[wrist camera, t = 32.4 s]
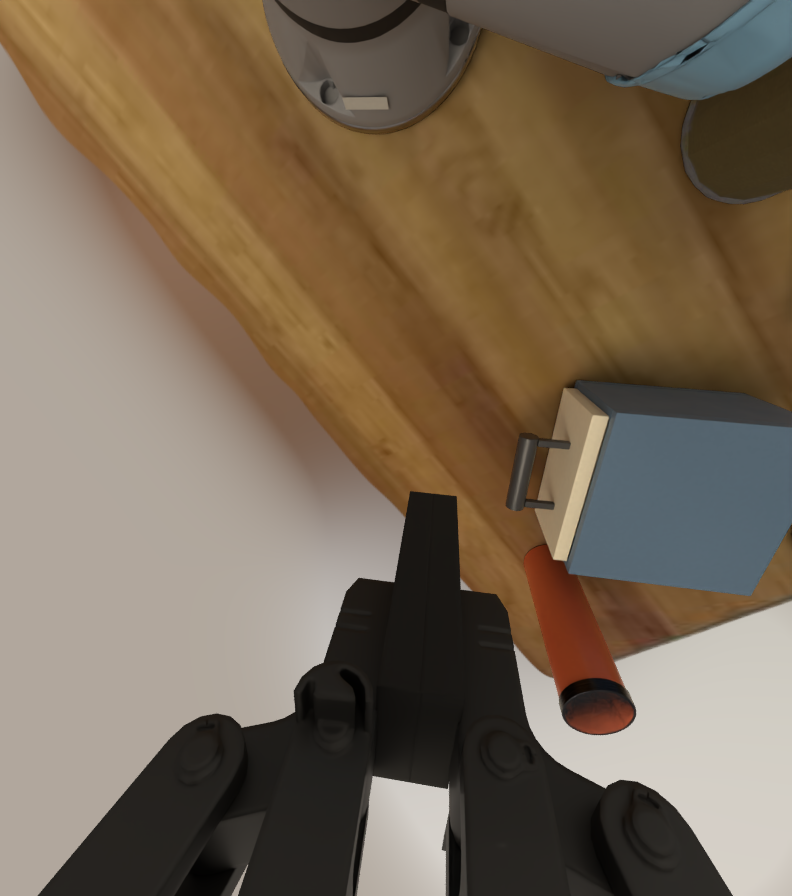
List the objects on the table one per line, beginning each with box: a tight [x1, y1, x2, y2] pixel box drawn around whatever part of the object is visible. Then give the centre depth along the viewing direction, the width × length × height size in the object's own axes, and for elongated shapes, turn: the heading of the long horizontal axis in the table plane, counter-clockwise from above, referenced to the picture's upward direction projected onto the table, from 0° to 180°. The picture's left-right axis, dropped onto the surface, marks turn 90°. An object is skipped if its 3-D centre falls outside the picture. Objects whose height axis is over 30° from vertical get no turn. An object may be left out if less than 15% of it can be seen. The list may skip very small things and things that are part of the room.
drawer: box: [506, 388, 610, 561], centre depth 34 cm, size 18×13×8 cm
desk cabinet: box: [564, 380, 792, 596], centre depth 34 cm, size 15×15×10 cm
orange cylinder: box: [524, 545, 636, 735], centre depth 37 cm, size 5×5×17 cm
